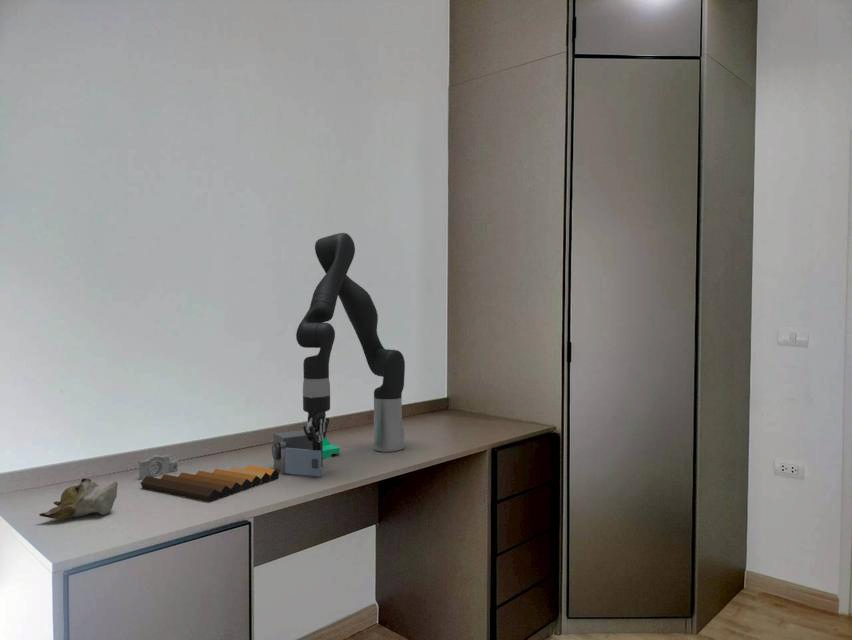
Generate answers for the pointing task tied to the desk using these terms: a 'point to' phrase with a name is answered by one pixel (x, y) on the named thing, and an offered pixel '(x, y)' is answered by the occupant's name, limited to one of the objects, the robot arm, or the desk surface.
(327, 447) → the camera mount
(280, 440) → the housing
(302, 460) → the door
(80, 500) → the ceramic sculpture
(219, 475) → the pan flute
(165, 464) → the grey ringed bracket
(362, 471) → the desk surface
